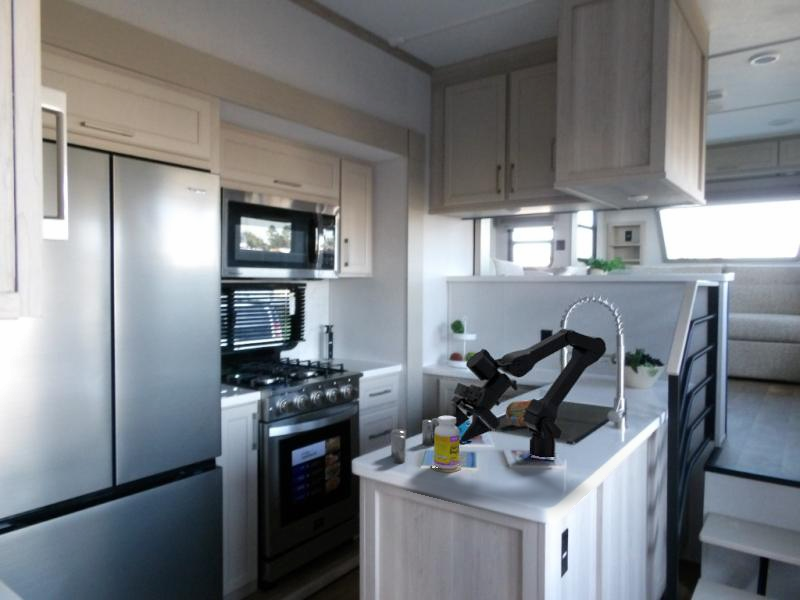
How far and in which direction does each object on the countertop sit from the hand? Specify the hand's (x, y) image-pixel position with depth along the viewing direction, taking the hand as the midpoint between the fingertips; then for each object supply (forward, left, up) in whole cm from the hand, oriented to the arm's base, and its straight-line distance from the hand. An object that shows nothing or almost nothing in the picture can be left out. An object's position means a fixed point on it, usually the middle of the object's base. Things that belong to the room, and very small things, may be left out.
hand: (454, 436), depth 152 cm
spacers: (+14, -9, -8) cm, 18 cm away
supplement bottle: (+2, +1, -8) cm, 8 cm away
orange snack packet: (-11, -51, -8) cm, 53 cm away
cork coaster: (+2, +2, -8) cm, 8 cm away
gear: (+4, -24, -8) cm, 26 cm away
